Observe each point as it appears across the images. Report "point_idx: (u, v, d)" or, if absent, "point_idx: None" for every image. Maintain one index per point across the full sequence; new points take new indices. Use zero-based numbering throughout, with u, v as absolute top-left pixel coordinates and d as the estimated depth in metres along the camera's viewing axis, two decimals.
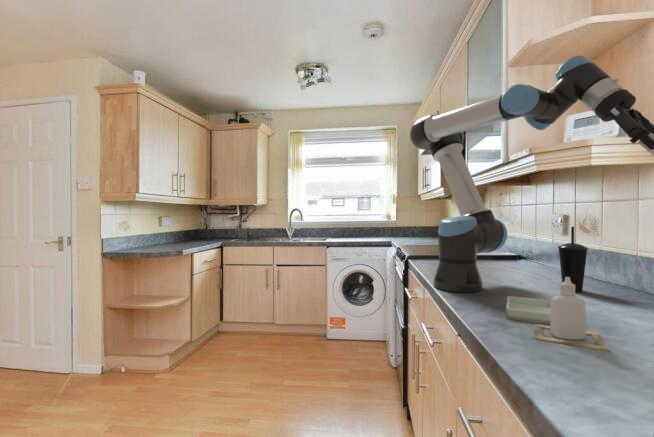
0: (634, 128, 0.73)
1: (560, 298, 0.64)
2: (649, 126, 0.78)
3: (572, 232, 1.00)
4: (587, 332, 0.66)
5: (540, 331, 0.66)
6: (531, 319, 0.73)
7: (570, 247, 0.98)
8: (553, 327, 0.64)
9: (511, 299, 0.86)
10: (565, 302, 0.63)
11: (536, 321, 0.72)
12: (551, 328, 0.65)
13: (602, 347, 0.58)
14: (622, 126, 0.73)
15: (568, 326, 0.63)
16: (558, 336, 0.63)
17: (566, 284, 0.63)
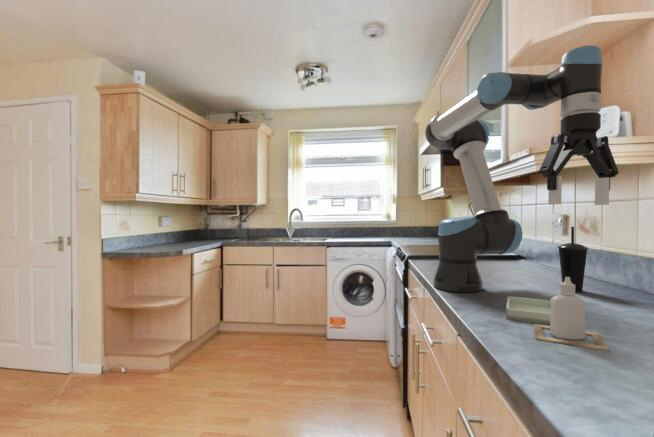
0: (556, 163, 0.76)
1: (560, 298, 0.64)
2: (595, 158, 0.77)
3: (572, 232, 1.00)
4: (587, 332, 0.66)
5: (540, 331, 0.66)
6: (531, 319, 0.73)
7: (570, 247, 0.98)
8: (553, 327, 0.64)
9: (511, 299, 0.86)
10: (565, 302, 0.63)
11: (536, 321, 0.72)
12: (551, 328, 0.65)
13: (602, 347, 0.58)
14: (545, 158, 0.76)
15: (568, 326, 0.63)
16: (558, 336, 0.63)
17: (566, 284, 0.63)
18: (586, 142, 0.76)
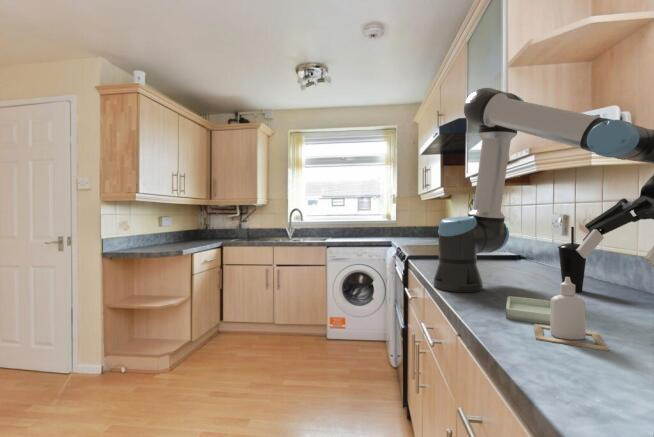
0: None
1: (560, 298, 0.64)
2: (628, 221, 0.70)
3: (572, 232, 1.00)
4: (587, 332, 0.66)
5: (540, 331, 0.66)
6: (531, 319, 0.73)
7: (570, 247, 0.98)
8: (553, 327, 0.64)
9: (511, 299, 0.86)
10: (565, 302, 0.63)
11: (536, 321, 0.72)
12: (551, 328, 0.65)
13: (602, 347, 0.58)
14: None
15: (568, 326, 0.63)
16: (558, 336, 0.63)
17: (566, 284, 0.63)
18: None
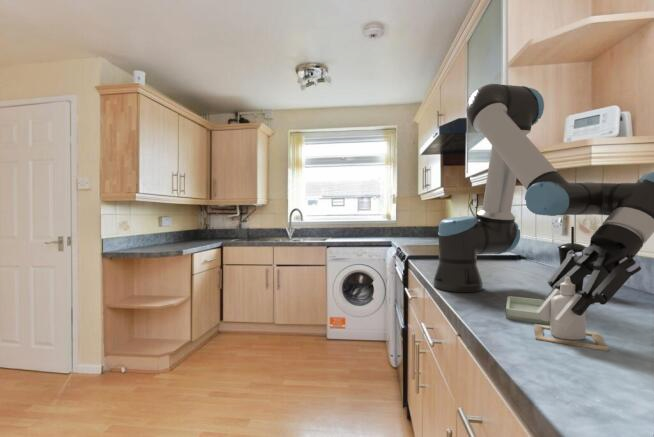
0: (597, 286, 0.61)
1: (560, 298, 0.64)
2: (585, 275, 0.66)
3: (572, 232, 1.00)
4: (587, 332, 0.66)
5: (540, 331, 0.66)
6: (531, 319, 0.73)
7: (570, 247, 0.98)
8: (553, 327, 0.64)
9: (511, 299, 0.86)
10: (565, 302, 0.63)
11: (536, 321, 0.72)
12: (551, 328, 0.65)
13: (602, 347, 0.58)
14: (610, 283, 0.59)
15: None
16: (558, 336, 0.63)
17: (566, 284, 0.63)
18: None
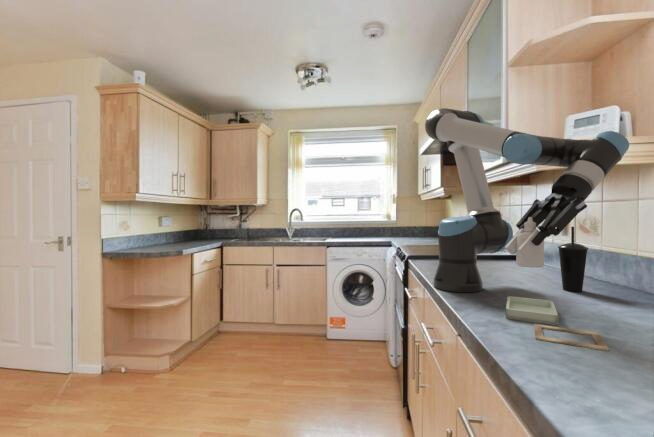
0: None
1: (523, 233, 0.77)
2: (545, 217, 0.80)
3: (572, 232, 1.00)
4: (587, 332, 0.66)
5: (540, 331, 0.66)
6: (531, 319, 0.73)
7: (570, 247, 0.98)
8: (518, 258, 0.78)
9: (511, 299, 0.86)
10: (527, 236, 0.77)
11: (536, 321, 0.72)
12: (516, 259, 0.79)
13: (602, 347, 0.58)
14: (562, 218, 0.73)
15: (529, 256, 0.77)
16: (521, 265, 0.77)
17: (528, 222, 0.77)
18: None
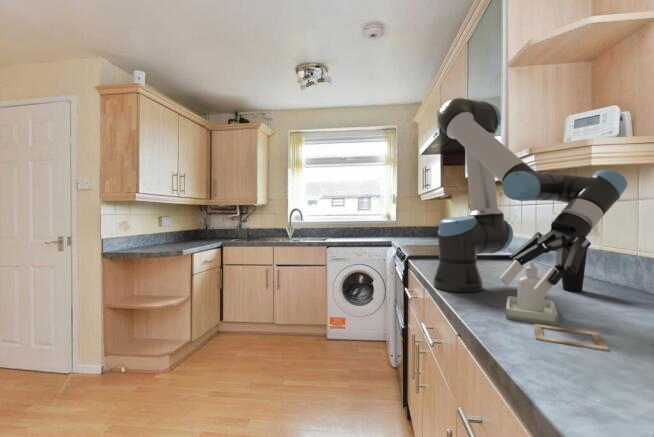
0: (564, 260, 0.73)
1: (525, 279, 0.77)
2: (541, 253, 0.82)
3: None
4: (587, 332, 0.66)
5: (540, 331, 0.66)
6: (531, 319, 0.73)
7: None
8: (519, 302, 0.78)
9: (511, 299, 0.86)
10: (529, 282, 0.76)
11: (536, 321, 0.72)
12: (518, 304, 0.79)
13: (602, 347, 0.58)
14: (575, 256, 0.71)
15: (531, 301, 0.77)
16: None
17: (530, 268, 0.77)
18: None
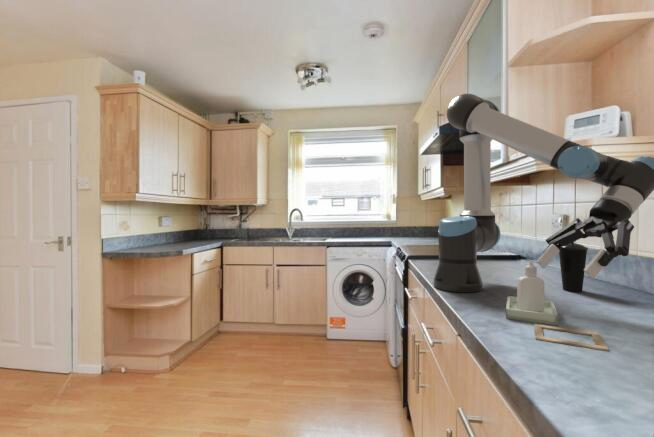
0: (612, 243, 0.74)
1: (524, 278, 0.78)
2: (579, 238, 0.84)
3: None
4: (587, 332, 0.66)
5: (540, 331, 0.66)
6: (531, 319, 0.73)
7: (570, 247, 0.98)
8: (519, 302, 0.78)
9: (511, 299, 0.86)
10: (529, 281, 0.77)
11: (536, 321, 0.72)
12: (518, 303, 0.79)
13: (602, 347, 0.58)
14: (623, 237, 0.72)
15: (531, 300, 0.77)
16: (523, 309, 0.77)
17: (529, 267, 0.78)
18: None
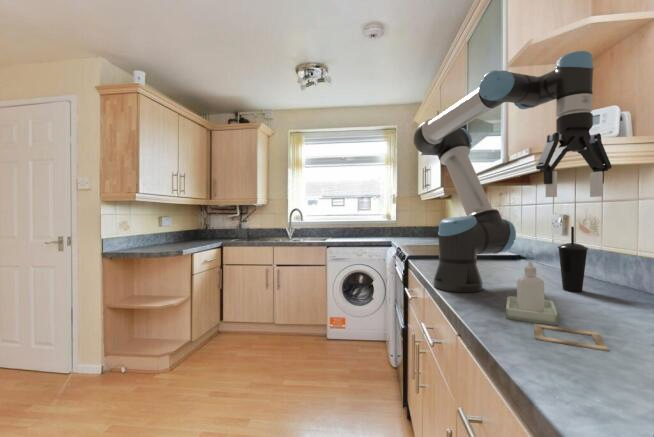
0: (552, 159, 0.83)
1: (524, 278, 0.78)
2: (589, 154, 0.83)
3: (572, 232, 1.00)
4: (587, 332, 0.66)
5: (540, 331, 0.66)
6: (531, 319, 0.73)
7: (570, 247, 0.98)
8: (519, 302, 0.78)
9: (511, 299, 0.86)
10: (528, 282, 0.77)
11: (536, 321, 0.72)
12: (517, 304, 0.79)
13: (602, 347, 0.58)
14: (542, 155, 0.83)
15: (531, 301, 0.77)
16: None
17: (529, 267, 0.78)
18: (580, 139, 0.83)
